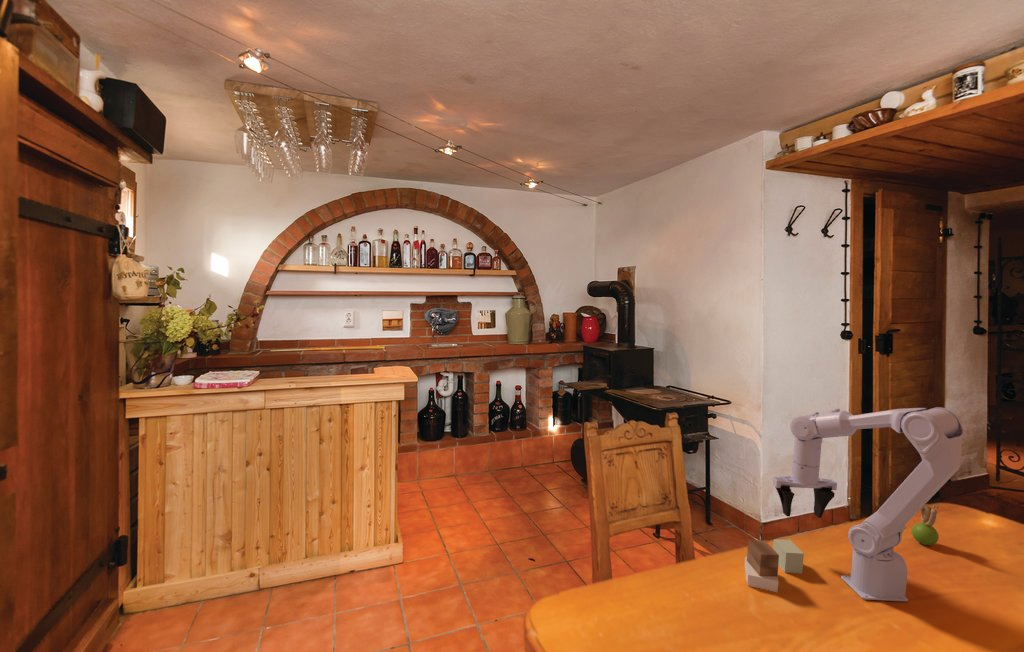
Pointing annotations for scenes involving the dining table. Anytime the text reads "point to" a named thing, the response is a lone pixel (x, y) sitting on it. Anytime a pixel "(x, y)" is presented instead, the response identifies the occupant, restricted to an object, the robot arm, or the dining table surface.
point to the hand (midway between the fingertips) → (802, 515)
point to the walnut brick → (762, 558)
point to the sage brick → (789, 556)
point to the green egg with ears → (926, 527)
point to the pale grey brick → (760, 579)
